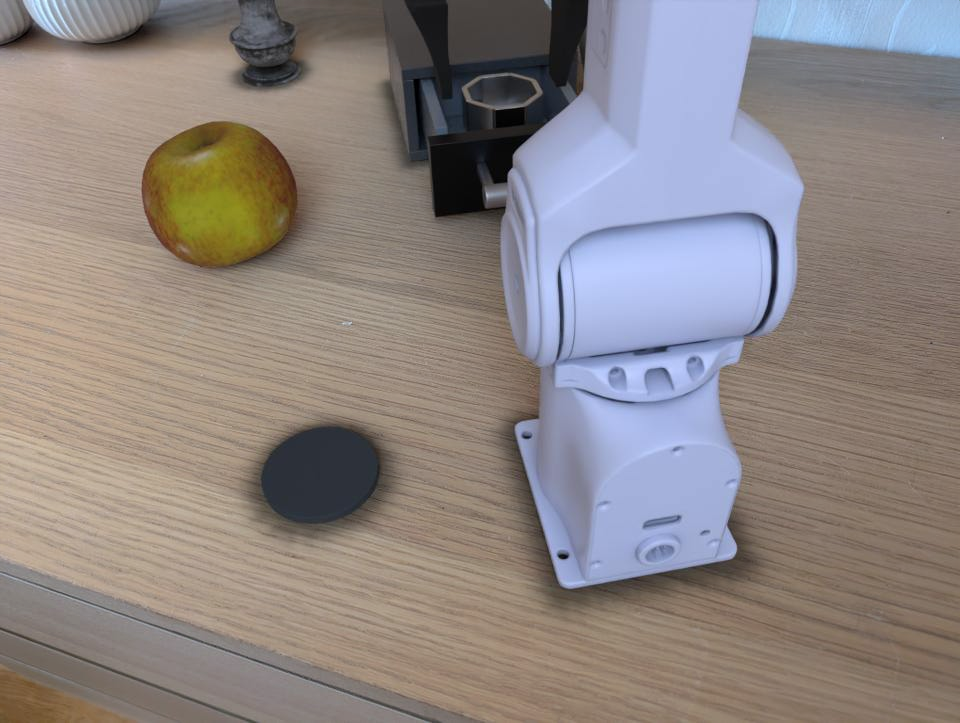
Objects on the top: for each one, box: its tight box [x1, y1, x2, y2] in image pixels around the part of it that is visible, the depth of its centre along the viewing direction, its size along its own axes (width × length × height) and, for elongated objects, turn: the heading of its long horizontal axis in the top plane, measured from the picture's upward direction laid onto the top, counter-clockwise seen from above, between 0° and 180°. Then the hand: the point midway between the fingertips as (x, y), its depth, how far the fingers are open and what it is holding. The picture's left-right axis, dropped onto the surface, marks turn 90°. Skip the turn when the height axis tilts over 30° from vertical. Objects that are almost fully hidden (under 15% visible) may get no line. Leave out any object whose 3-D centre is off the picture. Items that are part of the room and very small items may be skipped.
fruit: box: [141, 120, 298, 268], centre depth 51 cm, size 10×9×8 cm
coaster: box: [260, 426, 380, 525], centre depth 39 cm, size 6×6×1 cm
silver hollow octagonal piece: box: [461, 73, 543, 132], centre depth 56 cm, size 5×5×5 cm
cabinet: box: [381, 0, 579, 162], centre depth 64 cm, size 14×13×7 cm
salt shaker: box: [228, 0, 302, 87], centre depth 69 cm, size 6×6×12 cm
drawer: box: [417, 65, 578, 218], centre depth 56 cm, size 17×11×5 cm
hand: (501, 86), depth 55 cm, fingers open, 7 cm apart
